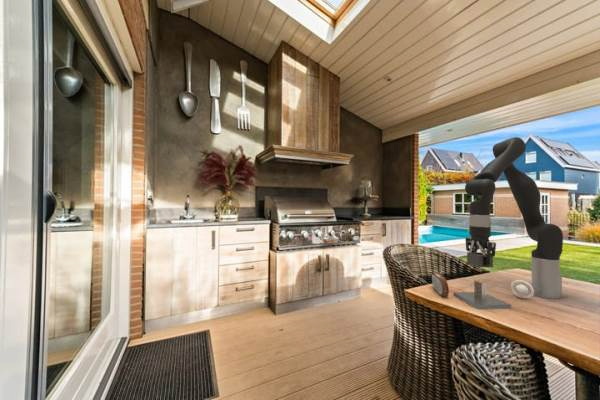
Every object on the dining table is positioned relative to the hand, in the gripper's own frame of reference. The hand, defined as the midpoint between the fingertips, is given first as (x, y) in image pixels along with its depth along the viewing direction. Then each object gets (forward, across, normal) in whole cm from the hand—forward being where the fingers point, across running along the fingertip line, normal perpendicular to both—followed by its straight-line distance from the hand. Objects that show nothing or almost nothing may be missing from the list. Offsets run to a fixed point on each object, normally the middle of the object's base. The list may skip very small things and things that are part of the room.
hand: (479, 263), depth 105 cm
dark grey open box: (+1, 0, 0) cm, 1 cm away
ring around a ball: (+16, -2, +21) cm, 27 cm away
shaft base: (+16, 0, 0) cm, 16 cm away
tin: (+17, -11, -11) cm, 23 cm away
